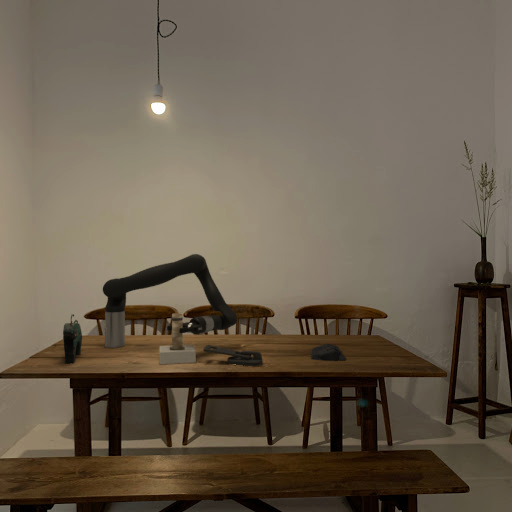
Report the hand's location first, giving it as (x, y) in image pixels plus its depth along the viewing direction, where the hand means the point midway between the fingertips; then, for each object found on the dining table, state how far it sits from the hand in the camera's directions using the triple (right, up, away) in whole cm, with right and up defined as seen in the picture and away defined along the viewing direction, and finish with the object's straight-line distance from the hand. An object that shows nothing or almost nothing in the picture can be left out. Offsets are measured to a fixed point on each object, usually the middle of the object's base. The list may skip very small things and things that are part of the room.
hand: (173, 329), depth 204 cm
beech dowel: (+1, -13, +2) cm, 14 cm away
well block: (+1, -13, +2) cm, 14 cm away
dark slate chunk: (+68, -14, +12) cm, 71 cm away
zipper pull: (+26, -14, -3) cm, 30 cm away
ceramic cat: (-45, -14, +3) cm, 47 cm away
